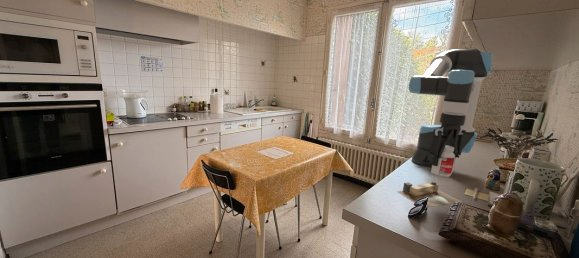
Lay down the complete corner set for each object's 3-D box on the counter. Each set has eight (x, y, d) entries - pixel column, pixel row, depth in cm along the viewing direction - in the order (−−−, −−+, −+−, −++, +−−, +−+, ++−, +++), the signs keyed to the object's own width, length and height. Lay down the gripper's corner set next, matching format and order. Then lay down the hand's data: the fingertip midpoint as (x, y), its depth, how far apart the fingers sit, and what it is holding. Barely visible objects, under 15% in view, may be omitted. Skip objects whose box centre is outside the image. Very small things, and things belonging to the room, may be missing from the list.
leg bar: (431, 188, 102) (432, 180, 101) (439, 191, 99) (441, 183, 98) (408, 192, 96) (409, 184, 95) (415, 196, 93) (417, 188, 92)
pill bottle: (432, 174, 89) (438, 146, 87) (431, 169, 94) (436, 143, 92) (452, 178, 86) (458, 149, 84) (449, 173, 92) (454, 145, 89)
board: (431, 189, 105) (433, 179, 104) (461, 205, 92) (464, 194, 91) (395, 194, 98) (396, 183, 97) (422, 211, 86) (424, 199, 85)
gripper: (462, 112, 92) (450, 167, 97) (424, 111, 86) (414, 171, 91) (482, 115, 85) (468, 175, 90) (443, 115, 79) (431, 178, 84)
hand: (441, 172), depth 90 cm, fingers closed on pill bottle, 6 cm apart
